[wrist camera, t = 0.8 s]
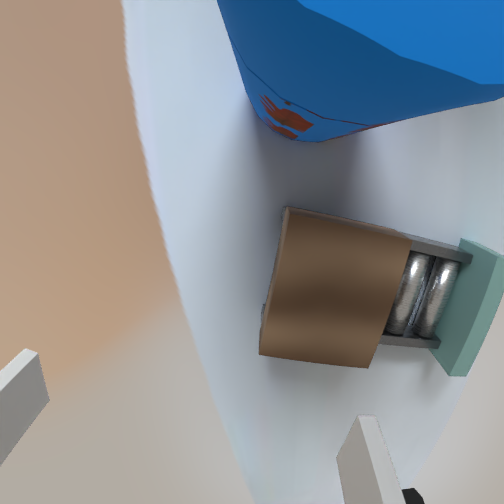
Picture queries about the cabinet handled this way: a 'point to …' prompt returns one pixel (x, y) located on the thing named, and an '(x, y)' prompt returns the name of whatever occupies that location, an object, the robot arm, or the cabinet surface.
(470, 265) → the stop block
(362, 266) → the slab
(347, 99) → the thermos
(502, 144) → the cabinet surface
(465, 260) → the roller bed
